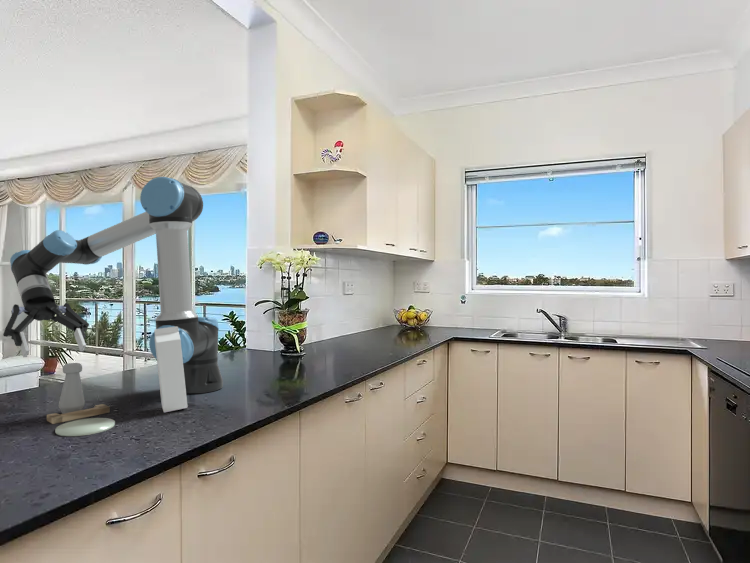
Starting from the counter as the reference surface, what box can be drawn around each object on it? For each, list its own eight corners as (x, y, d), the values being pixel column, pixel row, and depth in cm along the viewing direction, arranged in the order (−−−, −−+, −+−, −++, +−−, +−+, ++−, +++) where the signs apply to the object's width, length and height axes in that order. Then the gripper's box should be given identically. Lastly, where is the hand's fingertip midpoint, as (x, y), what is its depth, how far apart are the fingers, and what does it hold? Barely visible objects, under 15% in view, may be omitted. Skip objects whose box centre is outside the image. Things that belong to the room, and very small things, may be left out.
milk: (187, 408, 128) (179, 327, 126) (163, 413, 125) (155, 330, 123) (184, 402, 133) (177, 325, 132) (161, 407, 130) (153, 328, 129)
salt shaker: (56, 417, 119) (57, 366, 119) (59, 411, 124) (60, 362, 124) (83, 414, 122) (84, 364, 122) (85, 409, 127) (86, 361, 127)
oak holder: (46, 420, 116) (46, 414, 116) (102, 409, 127) (102, 404, 127) (53, 424, 114) (53, 417, 114) (109, 412, 124) (109, 406, 124)
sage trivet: (122, 419, 118) (122, 417, 118) (102, 435, 106) (102, 432, 106) (70, 420, 117) (70, 418, 117) (44, 437, 105) (44, 434, 105)
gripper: (79, 301, 150) (100, 354, 141) (-21, 304, 130) (-4, 365, 121) (87, 285, 146) (108, 338, 137) (-15, 285, 126) (3, 347, 117)
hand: (56, 351), depth 129 cm, fingers open, 13 cm apart
